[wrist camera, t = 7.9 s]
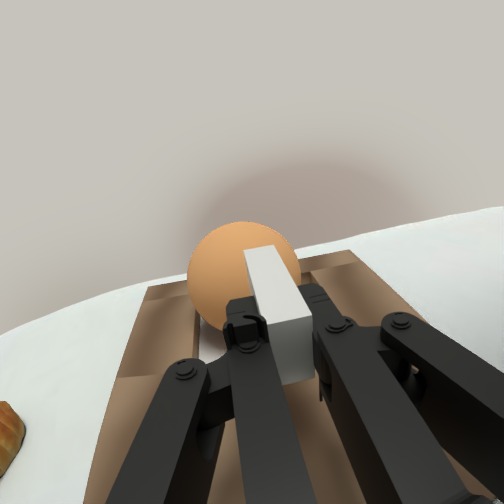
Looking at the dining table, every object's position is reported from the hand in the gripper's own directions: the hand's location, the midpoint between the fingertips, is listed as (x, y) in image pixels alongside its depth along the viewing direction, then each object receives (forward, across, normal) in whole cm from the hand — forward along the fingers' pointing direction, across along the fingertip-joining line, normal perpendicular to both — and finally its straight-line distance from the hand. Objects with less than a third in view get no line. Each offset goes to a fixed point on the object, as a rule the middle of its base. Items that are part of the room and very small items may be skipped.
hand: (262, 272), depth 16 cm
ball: (+6, -1, -3) cm, 7 cm away
